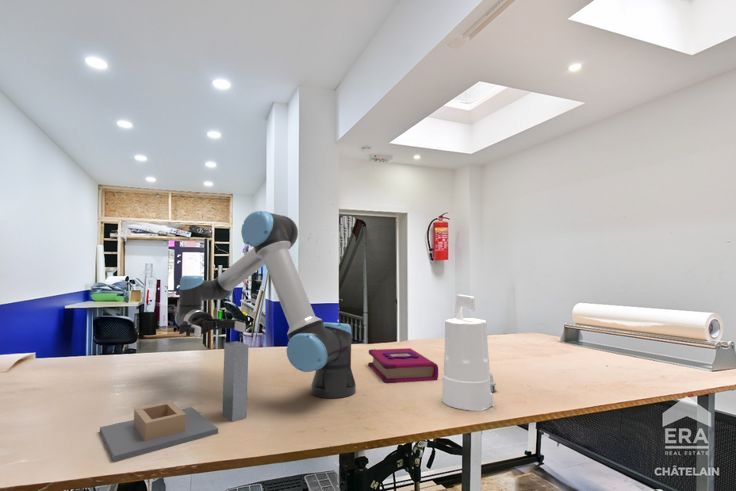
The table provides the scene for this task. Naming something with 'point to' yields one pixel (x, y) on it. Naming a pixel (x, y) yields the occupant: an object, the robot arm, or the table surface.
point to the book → (402, 366)
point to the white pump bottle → (466, 360)
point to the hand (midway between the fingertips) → (222, 329)
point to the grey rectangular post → (235, 380)
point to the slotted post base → (137, 446)
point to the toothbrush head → (492, 383)
